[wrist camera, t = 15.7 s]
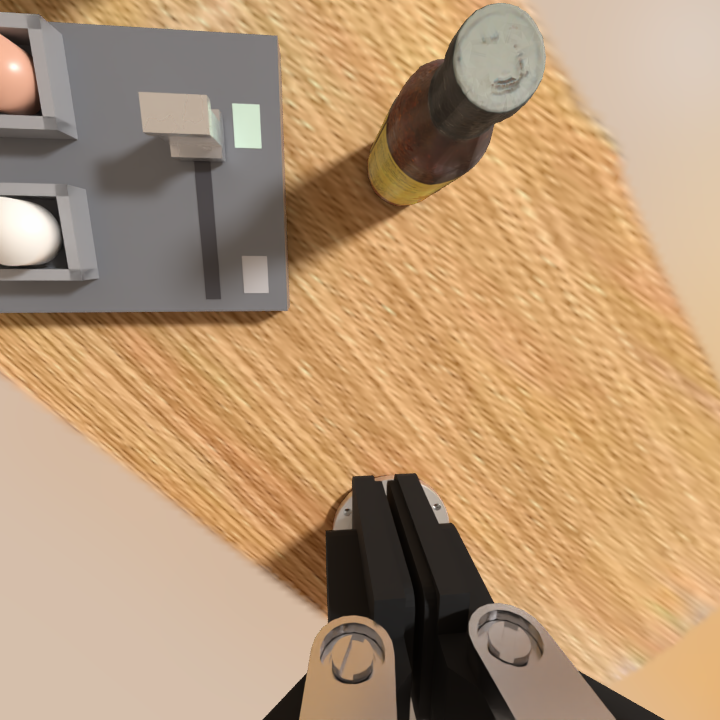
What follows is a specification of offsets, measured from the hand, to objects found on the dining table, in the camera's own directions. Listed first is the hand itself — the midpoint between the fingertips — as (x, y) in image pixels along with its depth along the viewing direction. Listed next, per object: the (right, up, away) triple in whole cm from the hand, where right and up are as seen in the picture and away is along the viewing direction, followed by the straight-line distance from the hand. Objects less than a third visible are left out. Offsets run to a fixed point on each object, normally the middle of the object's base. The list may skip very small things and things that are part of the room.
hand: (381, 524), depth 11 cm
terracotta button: (-24, +23, +18) cm, 38 cm away
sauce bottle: (+3, +21, +25) cm, 33 cm away
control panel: (-19, +19, +23) cm, 35 cm away
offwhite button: (-24, +13, +19) cm, 34 cm away
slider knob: (-13, +21, +20) cm, 31 cm away
